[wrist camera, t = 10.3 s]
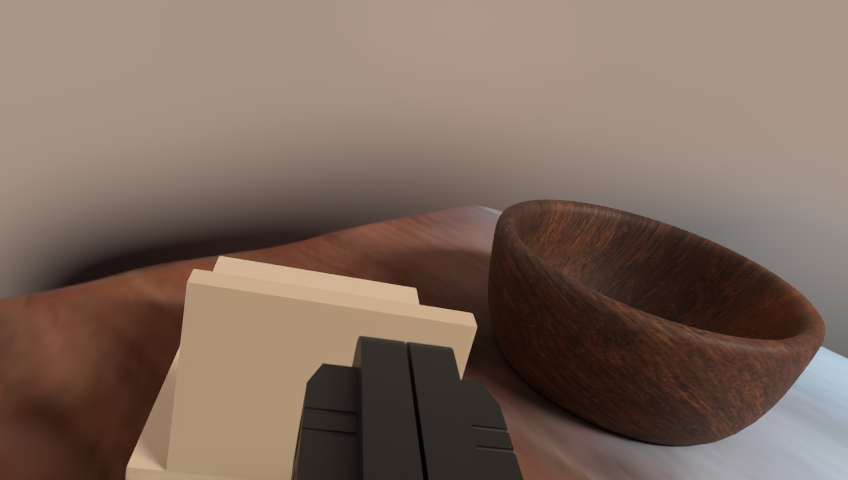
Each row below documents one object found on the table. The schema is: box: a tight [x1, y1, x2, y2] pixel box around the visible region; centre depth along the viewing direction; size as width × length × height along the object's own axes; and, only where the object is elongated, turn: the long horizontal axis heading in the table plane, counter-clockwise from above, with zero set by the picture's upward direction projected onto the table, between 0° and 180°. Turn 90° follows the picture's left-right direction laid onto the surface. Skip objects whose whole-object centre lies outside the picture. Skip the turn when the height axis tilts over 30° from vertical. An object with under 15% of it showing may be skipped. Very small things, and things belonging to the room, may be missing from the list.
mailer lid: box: [126, 256, 477, 480], centre depth 33 cm, size 19×13×9 cm
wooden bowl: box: [488, 200, 825, 445], centre depth 53 cm, size 25×25×10 cm
